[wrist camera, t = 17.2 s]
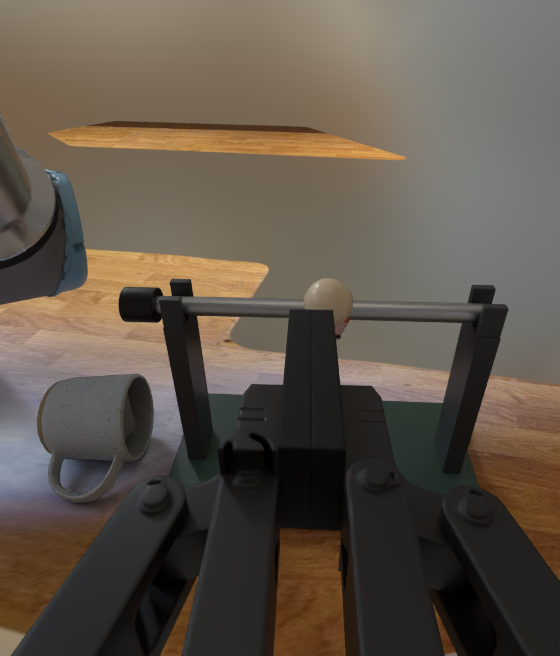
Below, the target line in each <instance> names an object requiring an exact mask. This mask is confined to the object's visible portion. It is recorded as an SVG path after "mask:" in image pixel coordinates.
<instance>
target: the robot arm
mask: <svg viewBox="0 0 560 656" xmlns="http://www.w3.org/2000/svg"><path fill="white" fill-rule="evenodd" d="M83 242H84V240H83V231H82V226H81V221H80V216H79V211H78V207H77V203H76V199H75V195H74V191H73V188H72V185H71V182H70V180H69V178H68V177H67V176H66V175H65V174H64V173H63V172H60V171H51V170H45V169H44V168H43V166H42V165H41V164H40V163H39V162H38V161H37V160H36V159H35V158H33V157H32V156H31V155H29V154H28V153H27V152H25V151H23V150H22V149H20V148H18V147H16V146H15V145H14V143H13V140H12V138H11V136H10V133H9V131H8V129H7V127H6V124H5V122H4V120H3V118H2V115H1V113H0V305H2V304H7V303H12V302H17V301H22V300H28V299H33V298H38V297H43V296H48V297H53V296H56V295H58V294H60V293H62V292H66V291H70V290H74V289H77V288H79V287H81V286H82V285H83V284H84V283H85V281H86V279H87V274H88V268H87V257H86V250H85V247H84V244H83ZM218 458H219V466H220V473H219V474H218V475H216V476H215V477H213V478H211V479H209V480H207V481H204V482H201V483H197V484H192V485H188V486H183V485H182V484H181V482H180V481H179V480H177V479H175V478H173V477H170V476H156V477H151V478H147V479H146V480H144V481H142V482H140V483H138V484H137V485H136V486H135V487H134V488H133V489H132V490H131V491H130V492H129V493H128V494H127V496H126V497H125V498H124V500H123V501H122V503H121V504H120V505H119V507H118V508H117V509H116V511H115V512H114V514H113V515H112V516H111V518H110V519H109V520H108V522H107V523H106V525H105V526H104V527H103V529H102V530H101V532H100V533H99V534H98V536H97V537H96V538H95V540H94V541H93V543H92V544H91V545H90V547H89V548H88V550H87V551H86V552H85V554H84V555H83V556H82V558H81V559H80V561H79V562H78V563H77V565H76V566H75V567H74V569H73V570H72V572H71V573H70V574H69V576H68V577H67V579H66V580H65V581H64V583H63V584H62V585H61V587H60V588H59V590H58V591H57V592H56V594H55V595H54V596H53V598H52V599H51V601H50V602H49V603H48V605H47V606H46V608H45V609H44V610H43V612H42V613H41V614H40V616H39V617H38V619H37V620H36V621H35V623H34V624H33V626H32V627H31V628H30V630H29V631H28V632H27V634H26V635H25V637H24V638H23V639H22V641H21V642H20V643H19V645H18V647H17V648H16V649H15V650H14V652H13V653H12V655H11V656H160V654H161V652H162V650H163V648H164V646H165V644H166V641H167V639H168V637H169V635H170V633H171V631H172V629H173V627H174V624H175V622H176V620H177V618H178V616H179V614H180V612H181V610H182V608H183V605H184V603H185V601H186V599H187V597H188V595H189V593H190V591H191V588H192V586H193V584H194V582H195V580H196V577H197V576H199V577H198V582H197V586H196V591H195V596H194V600H193V605H192V610H191V614H190V619H189V624H188V628H187V633H186V637H185V642H184V647H183V651H182V656H273V653H274V636H275V619H276V603H277V586H278V570H279V553H280V539H279V535H280V528H302V529H326V530H340V528H341V544H340V556H339V568H338V571H341V579H342V596H343V613H344V631H345V648H346V656H445V655H444V651H443V646H442V642H441V637H440V633H439V629H438V624H437V620H436V615H435V611H434V606H433V603H434V605H435V608H436V610H437V612H438V614H439V616H440V618H441V621H442V623H443V625H444V627H445V629H446V631H447V633H448V636H449V638H450V640H451V642H452V644H453V646H454V649H455V651H456V653H457V655H458V656H560V581H559V580H558V578H557V577H556V575H555V574H554V573H553V571H552V570H551V569H550V567H549V566H548V564H547V563H546V562H545V560H544V559H543V558H542V556H541V555H540V554H539V552H538V551H537V549H536V548H535V547H534V545H533V544H532V543H531V541H530V540H529V538H528V537H527V536H526V534H525V533H524V532H523V530H522V529H521V527H520V526H519V525H518V523H517V522H516V521H515V519H514V518H513V516H512V515H511V514H510V512H509V511H508V510H507V508H506V507H505V505H504V504H503V503H502V502H501V501H500V500H499V499H498V498H497V497H496V496H494V495H493V494H491V493H489V492H488V491H486V490H484V489H482V488H478V487H475V486H471V485H459V486H456V487H453V488H451V489H449V490H448V491H447V492H446V494H445V495H442V494H439V493H436V492H432V491H429V490H426V489H423V488H421V487H418V486H416V485H414V484H413V483H411V482H409V481H408V480H407V479H406V478H405V477H404V476H403V475H402V473H401V472H400V471H399V470H398V469H397V466H396V464H395V460H394V455H393V451H392V446H391V441H390V437H389V432H388V427H387V423H386V418H385V413H384V409H383V404H382V399H381V397H380V395H379V394H378V393H377V392H376V391H375V389H374V388H373V387H372V386H353V385H340V378H339V367H338V356H337V346H336V335H335V324H334V314H333V310H312V309H290V310H289V322H288V334H287V346H286V357H285V369H284V381H283V385H263V384H251V386H250V387H249V388H248V389H247V390H246V391H245V393H244V394H243V395H242V400H241V404H240V410H239V414H238V420H237V424H236V429H235V432H233V433H231V434H229V435H228V436H227V437H225V438H224V439H223V440H222V441H221V443H220V445H219V447H218ZM432 601H433V602H432Z"/></svg>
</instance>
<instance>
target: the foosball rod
mask: <svg viewBox="0 0 560 656" xmlns="http://www.w3.org/2000/svg"><path fill="white" fill-rule="evenodd" d="M161 296H163V294H162V291H161V289H159V288H149V287H125V288H123V289H122V291H121V293H120V297H119V313H120V316H121V318H122V320H123V321H125V322H152V323H158V322H160V320H161V319H162V315H161V310H160V305H159V299H160V297H161ZM169 297H181V298H182V304H183V310H184V315H190V316H227V317H264V318H289V310H290V309H312V310H333V314H334V324H335V335H336V340H338V339H340V338H341V334H342V332H343V331H344V329H345V327H346V325H347V324H348V322H349V320H374V321H413V322H448V323H478V321H479V317H480V314H481V310H482V306H483V303H441V302H439V303H438V302H399V301H397V302H396V301H357V300H356V301H355V300H353V297H352V294H351V291H350V290H349V288H348V287H347V286H346V285H345V284H344V283H343V282H341V281H339V280H336V279H333V278H324V279H321V280H318V281H316V282H315V283H314V284H312V285H311V286H310V287H309V289H308V290H307V292H306V294H305V298H304V299H273V298H231V297H189V296H169Z"/></svg>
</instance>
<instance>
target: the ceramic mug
mask: <svg viewBox="0 0 560 656" xmlns="http://www.w3.org/2000/svg"><path fill="white" fill-rule="evenodd" d="M153 415H154V409H153V400H152V394H151V390H150V387H149V385H148V383H147V381H146V379H145V378H144V377H143V376H142V375H140V374H125V375H108V376H95V377H78V378H71V379H67V380H62V381H59V382H57V383H55V384H54V385H53V386H51V387H50V388H49V389H48V391H47V392H46V393H45V395H44V397H43V399H42V401H41V403H40V407H39V411H38V417H37V429H38V435H39V438H40V441H41V443H42V444H43V446H44V448H45V449H46V450H47V451H48V452H49V453H50V454H52V455H53V456H52V458H51V461H50V464H49V470H48V477H49V483H50V485H51V487H52V489H53V491H54V492H55V493H56V494H57V495H59V496H60V497H62V498H64V499H66V500H68V501H70V502H75V503H86V502H91V501H94V500H96V499H98V498H100V497H101V496H102V495H104V494H105V493H106V492H108V490H109V489H110V488H111V487H112V486H113V484H114V483H115V481H116V479H117V477H118V475H119V473H120V471H121V468H122V466H123V463H124V462H125V461H137V460H139V459H140V458H141V457H142V456H143V454H144V453H145V451H146V449H147V447H148V444H149V441H150V438H151V433H152V428H153ZM64 459H95V460H107V461H113V463H112V465H111V466H110V468H109V470H108V472H107V474H106V475H105V477H104V478H103V480H102V481H101V482H100V483H99V484H98V485H97V486H96V487H94V488H93V489H91V490H90V491H89V492H87V493H85V494H81V493H76V492H73V491H72V490H71V489H70V488H69V489H66V488H63V487H62V485H61V483H60V471H61V466H62V462H63V460H64Z"/></svg>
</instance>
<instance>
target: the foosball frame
mask: <svg viewBox="0 0 560 656" xmlns="http://www.w3.org/2000/svg"><path fill="white" fill-rule="evenodd" d="M170 286H171V292H172V296H189V297H193V291H192V284H191V279H171V281H170ZM495 290H496V289H495V287H494V286H493V285H472V287H471V291H470V296H469V300H468V303H483V306H482V310H481V314H480V317H479V321H478V323H462V326H461V330H460V334H459V339H458V343H457V347H456V351H455V356H454V360H453V364H452V368H451V372H450V376H449V381H448V385H447V389H446V393H445V397H444V402H443V403H424V402H400V401H382V404H383V409H384V413H385V418H386V423H387V427H388V432H389V437H390V441H391V446H392V451H393V455H394V460H395V464H396V466H397V469H398V470H399V471H400V472H401V473H402V475H403V476H404V477H405V478H406V479H407V480H408V481H409V482H411V483H413V484H414V485H416V486H418V487H421V488H423V489H426V490H429V491H432V492H436V493H439V494H442V495H445V494H446V492H447V491H448V490H449V489H451V488H453V487H456V486H459V485H471V486H475V487H478V488H479V485H478V482H477V479H476V476H475V473H474V470H473V467H472V464H471V461H470V458H469V455H468V452H467V449H468V446H469V442H470V439H471V436H472V432H473V429H474V426H475V422H476V419H477V416H478V412H479V409H480V406H481V402H482V399H483V396H484V392H485V389H486V386H487V382H488V379H489V376H490V372H491V369H492V366H493V362H494V359H495V356H496V352H497V349H498V346H499V342H500V336H501V332H502V329H503V326H504V322H505V319H506V315H507V312H508V307H507V306H506V305H504V304H501V305H500V304H492V301H493V297H494V293H495ZM159 305H160V310H161V315H162V320H163V325H164V329H163V330H164V335H165V340H166V345H167V351H168V356H169V361H170V366H171V371H172V376H173V381H174V387H175V392H176V397H177V402H178V407H179V412H180V417H181V423H182V428H183V433H184V435H183V438H182V440H181V443H180V446H179V449H178V452H177V455H176V457H175V460H174V463H173V466H172V469H171V472H170V474H169V476H170V477H173V478H175V479H177V480H179V481H180V482H181V484H182V485H183V486H188V485H192V484H197V483H201V482H204V481H207V480H209V479H211V478H213V477H215V476H216V475H218V474H219V473H220V466H219V458H218V447H219V445H220V443H221V441H222V440H223V439H224V438H225V437H227V436H228V435H229V434H231V433H233V432H235V429H236V424H237V420H238V414H239V410H240V404H241V400H242V395H231V394H208V391H207V384H206V377H205V370H204V363H203V356H202V349H201V342H200V335H199V328H198V321H197V316H190V315H184V310H183V304H182V298H181V297H169V296H161V297H160V299H159ZM322 530H326V529H322ZM338 531H341V528H340V530H338Z"/></svg>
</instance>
